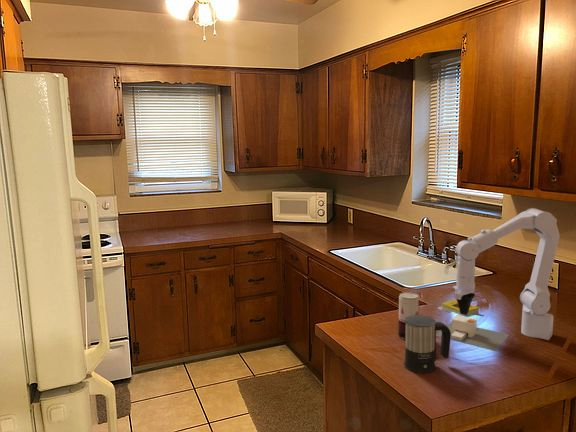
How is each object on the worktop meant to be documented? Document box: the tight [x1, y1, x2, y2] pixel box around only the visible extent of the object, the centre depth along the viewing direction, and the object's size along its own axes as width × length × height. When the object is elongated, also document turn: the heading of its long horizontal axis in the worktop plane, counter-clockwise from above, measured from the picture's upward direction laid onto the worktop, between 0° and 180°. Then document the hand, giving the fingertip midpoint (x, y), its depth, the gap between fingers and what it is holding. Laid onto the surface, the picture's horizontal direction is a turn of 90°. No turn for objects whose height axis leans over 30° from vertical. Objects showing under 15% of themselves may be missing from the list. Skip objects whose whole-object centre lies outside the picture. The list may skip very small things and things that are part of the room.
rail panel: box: [436, 321, 510, 352], centre depth 161 cm, size 20×16×2 cm
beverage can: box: [397, 291, 420, 340], centre depth 163 cm, size 6×7×15 cm
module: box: [451, 314, 478, 338], centre depth 163 cm, size 7×4×5 cm, turn 51°
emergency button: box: [437, 299, 482, 317], centre depth 186 cm, size 9×4×15 cm
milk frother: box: [403, 314, 451, 374], centre depth 145 cm, size 14×16×15 cm
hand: (464, 313), depth 162 cm, fingers closed
